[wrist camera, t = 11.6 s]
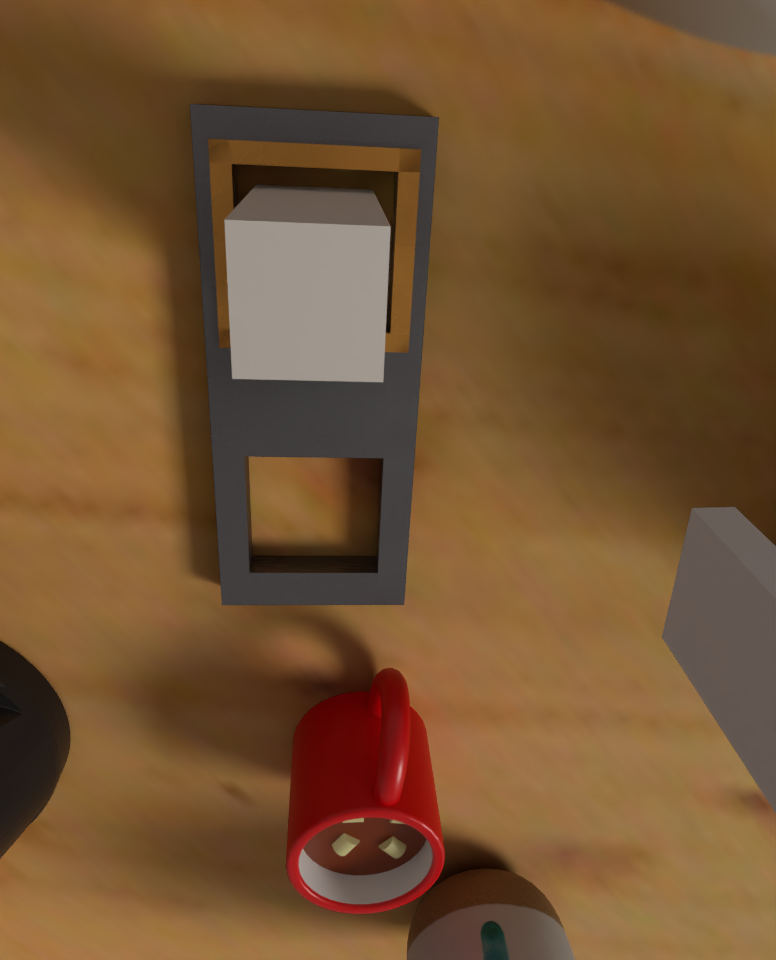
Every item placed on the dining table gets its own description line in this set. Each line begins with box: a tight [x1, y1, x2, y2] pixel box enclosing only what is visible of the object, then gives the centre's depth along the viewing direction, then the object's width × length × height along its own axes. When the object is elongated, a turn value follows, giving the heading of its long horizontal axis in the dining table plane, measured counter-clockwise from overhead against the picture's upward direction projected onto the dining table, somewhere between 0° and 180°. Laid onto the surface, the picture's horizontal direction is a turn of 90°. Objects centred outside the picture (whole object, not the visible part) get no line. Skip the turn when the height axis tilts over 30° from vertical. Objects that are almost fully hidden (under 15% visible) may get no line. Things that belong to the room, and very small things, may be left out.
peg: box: [224, 184, 391, 382], centre depth 26 cm, size 5×5×10 cm
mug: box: [286, 668, 445, 914], centre depth 39 cm, size 8×12×8 cm, turn 169°
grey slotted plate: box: [190, 104, 439, 605], centre depth 32 cm, size 9×22×2 cm, turn 177°
